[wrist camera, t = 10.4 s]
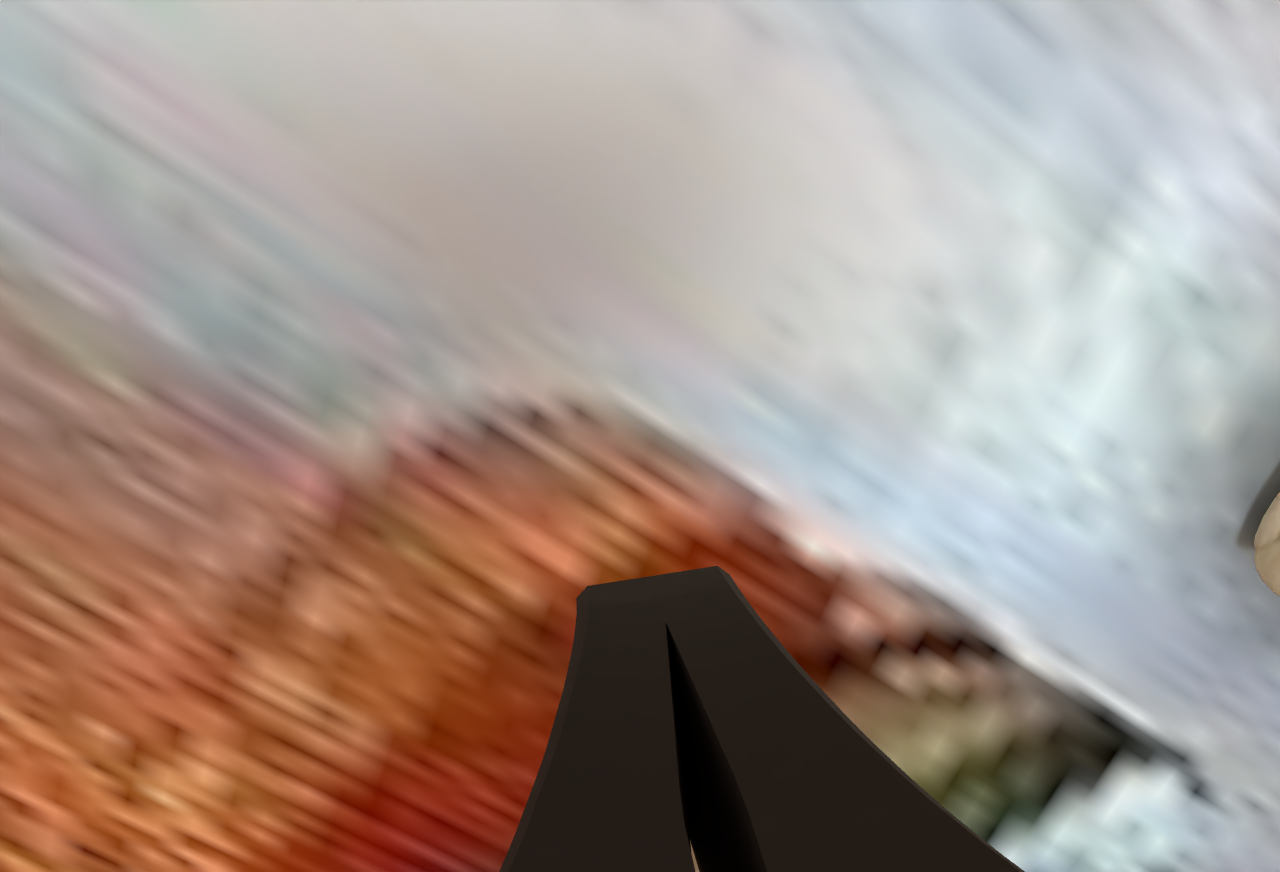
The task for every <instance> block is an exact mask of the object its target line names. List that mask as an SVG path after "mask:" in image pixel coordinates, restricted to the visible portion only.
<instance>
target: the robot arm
mask: <svg viewBox="0 0 1280 872" xmlns="http://www.w3.org/2000/svg"><path fill="white" fill-rule="evenodd" d="M690 841H691V844H692V848H693V851H694V854H695V858H696V861H697V865H698V868H699V871H700V872H1024V871H1023V870H1022V869H1020V868H1019V867H1018V866H1016V865H1015V864H1014V863H1012V862H1011V861H1010V860H1008V859H1007V858H1006V857H1004V856H1003V855H1002V854H1001V853H999V852H998V851H997V850H995V849H994V848H993V847H992V846H990V845H989V844H988V843H987V842H985V841H984V840H983V839H982V838H981V837H979V836H978V835H977V834H976V833H974V832H973V831H972V830H971V829H969V828H968V827H967V826H966V825H964V824H963V823H962V822H961V821H959V820H958V819H957V818H956V817H955V816H953V815H952V814H951V813H950V812H949V811H947V810H946V809H945V808H944V807H943V806H942V805H940V804H939V803H938V802H937V801H936V800H935V799H934V798H932V797H931V796H930V795H929V794H928V793H927V792H926V791H924V790H923V789H922V788H921V787H920V786H919V785H918V784H917V783H916V782H914V781H913V780H912V779H911V778H910V777H909V776H908V775H907V774H906V773H905V772H903V771H902V770H901V769H900V768H899V767H898V766H897V765H896V764H895V763H894V762H893V761H892V760H891V759H890V758H889V757H888V756H887V755H885V754H884V753H883V752H882V751H881V750H880V749H879V748H878V747H877V746H876V745H875V744H874V743H873V742H872V741H871V740H870V739H869V738H868V737H867V736H866V735H865V734H864V733H863V732H862V731H861V730H860V729H859V728H858V727H857V726H856V725H855V724H854V723H853V722H852V721H851V720H850V719H849V718H848V717H847V716H846V715H845V714H844V713H843V712H842V711H841V710H840V709H839V708H838V707H837V706H836V704H835V703H834V702H833V701H832V700H831V699H830V698H829V697H828V696H827V695H826V694H825V693H824V692H823V690H822V689H821V688H820V687H819V686H818V685H817V684H816V683H815V682H814V681H813V680H812V679H811V678H810V677H809V675H808V674H807V673H806V672H805V671H804V670H803V669H802V668H801V666H800V665H799V664H798V663H797V662H796V661H795V660H794V658H793V657H792V656H791V655H790V654H789V653H788V651H787V650H786V649H785V648H784V647H783V645H782V644H781V643H780V642H779V641H778V639H777V638H776V637H775V636H774V634H773V633H772V632H771V631H770V630H769V628H768V627H767V626H766V625H765V623H764V622H763V621H762V620H761V618H760V617H759V616H758V614H757V613H756V612H755V610H754V609H753V608H752V606H751V605H750V604H749V602H748V601H747V600H746V598H745V597H744V595H743V594H742V593H741V591H740V590H739V588H738V587H737V585H736V584H735V582H734V581H733V579H732V578H731V576H730V575H729V574H728V573H727V572H725V571H724V570H722V569H721V568H720V567H718V566H714V567H707V568H701V569H694V570H688V571H682V572H675V573H669V574H662V575H656V576H650V577H643V578H637V579H630V580H624V581H618V582H611V583H605V584H598V585H592V586H587V587H586V588H585V589H584V591H583V592H582V593H581V594H580V595H579V596H578V597H577V617H576V627H575V635H574V642H573V648H572V653H571V658H570V663H569V667H568V672H567V676H566V681H565V685H564V689H563V693H562V697H561V700H560V704H559V707H558V710H557V714H556V717H555V721H554V724H553V728H552V731H551V735H550V738H549V742H548V745H547V748H546V752H545V755H544V758H543V761H542V764H541V767H540V769H539V772H538V775H537V777H536V780H535V783H534V785H533V788H532V791H531V793H530V796H529V799H528V801H527V804H526V807H525V810H524V812H523V815H522V818H521V820H520V823H519V826H518V828H517V831H516V834H515V836H514V839H513V841H512V843H511V846H510V848H509V850H508V853H507V855H506V857H505V860H504V862H503V865H502V867H501V869H500V871H499V872H695V868H694V864H693V859H692V855H691V845H690Z"/></svg>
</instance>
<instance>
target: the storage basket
mask: <svg viewBox="0 0 1280 872" xmlns="http://www.w3.org/2000/svg"><path fill="white" fill-rule="evenodd" d="M1254 545H1255V550H1256V553H1255V559H1254V560H1255V565H1256V570H1257V572H1258V574H1259V575H1260V577H1261V579H1262V581H1263V582H1264V583H1265V584H1266V585H1267V586H1268V587H1269V588H1270V589H1271V590H1272V591H1273V592H1274V593H1276V594H1277V595H1278V596H1280V492H1279V493H1278V495H1277V496H1276V497H1275V499H1274V500H1273V502H1272V503H1271V505H1270V506H1269V508H1268V510H1267V511H1266V513H1265V515H1264V516H1263V519H1262V521H1261V523H1260V526H1259V528H1258V530H1257V533H1256V535H1255V541H1254Z"/></svg>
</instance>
